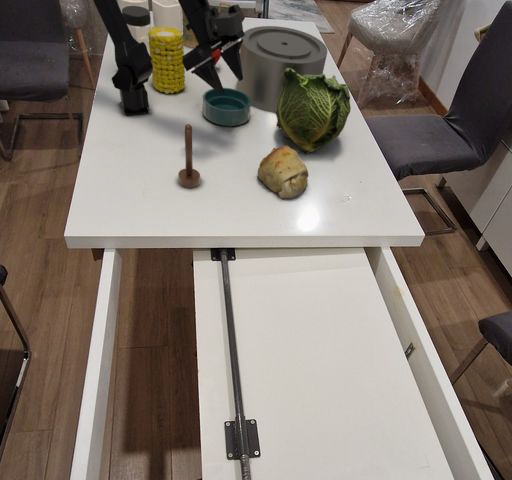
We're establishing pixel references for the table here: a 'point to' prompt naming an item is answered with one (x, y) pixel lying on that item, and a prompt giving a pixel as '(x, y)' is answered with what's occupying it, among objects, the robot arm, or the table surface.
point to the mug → (188, 36)
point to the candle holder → (133, 3)
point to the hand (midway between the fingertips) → (232, 87)
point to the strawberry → (217, 54)
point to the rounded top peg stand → (189, 163)
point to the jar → (138, 23)
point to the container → (276, 61)
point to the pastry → (283, 172)
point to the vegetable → (312, 109)
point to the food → (167, 59)
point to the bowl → (226, 107)
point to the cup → (167, 14)
